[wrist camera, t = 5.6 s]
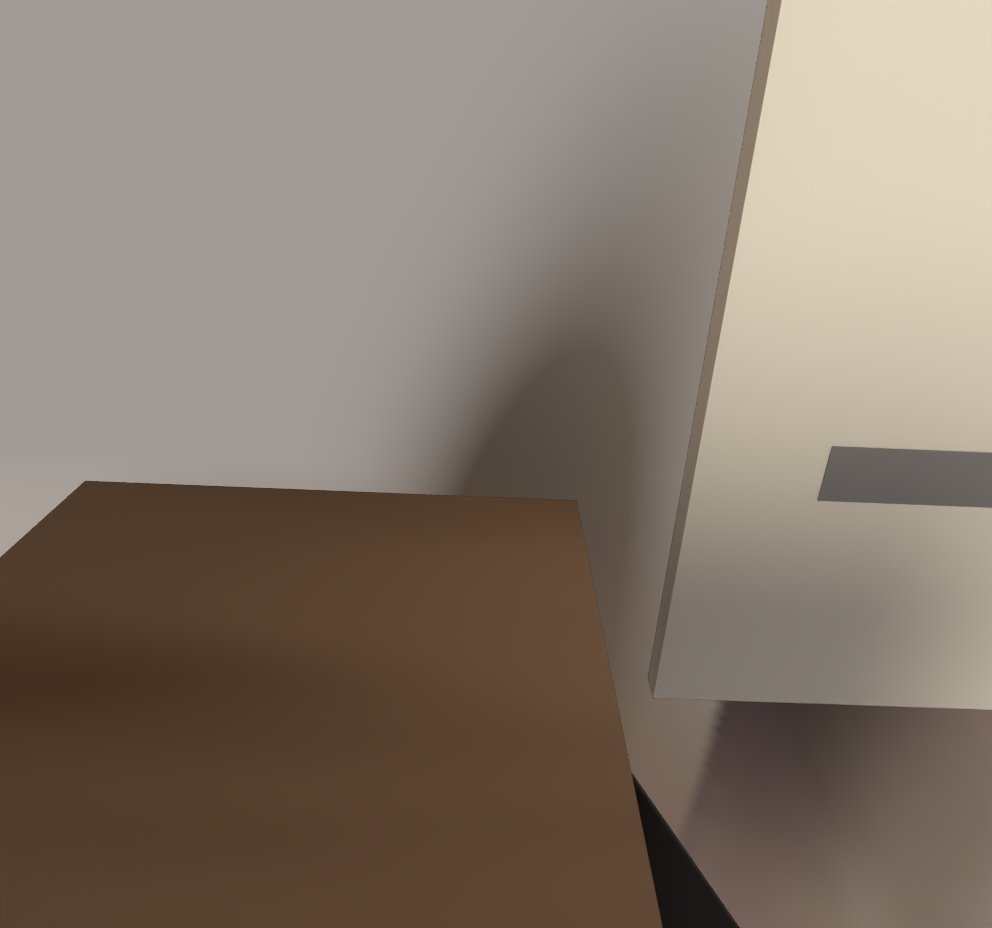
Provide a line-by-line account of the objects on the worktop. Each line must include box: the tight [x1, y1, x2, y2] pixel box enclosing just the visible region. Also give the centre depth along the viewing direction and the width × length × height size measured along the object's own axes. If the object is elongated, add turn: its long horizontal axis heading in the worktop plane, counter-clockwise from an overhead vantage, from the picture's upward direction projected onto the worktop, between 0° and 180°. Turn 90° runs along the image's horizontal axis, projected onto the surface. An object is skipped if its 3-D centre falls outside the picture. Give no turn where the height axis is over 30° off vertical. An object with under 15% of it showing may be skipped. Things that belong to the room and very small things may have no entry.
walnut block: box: [0, 481, 663, 928], centre depth 6 cm, size 5×5×5 cm
